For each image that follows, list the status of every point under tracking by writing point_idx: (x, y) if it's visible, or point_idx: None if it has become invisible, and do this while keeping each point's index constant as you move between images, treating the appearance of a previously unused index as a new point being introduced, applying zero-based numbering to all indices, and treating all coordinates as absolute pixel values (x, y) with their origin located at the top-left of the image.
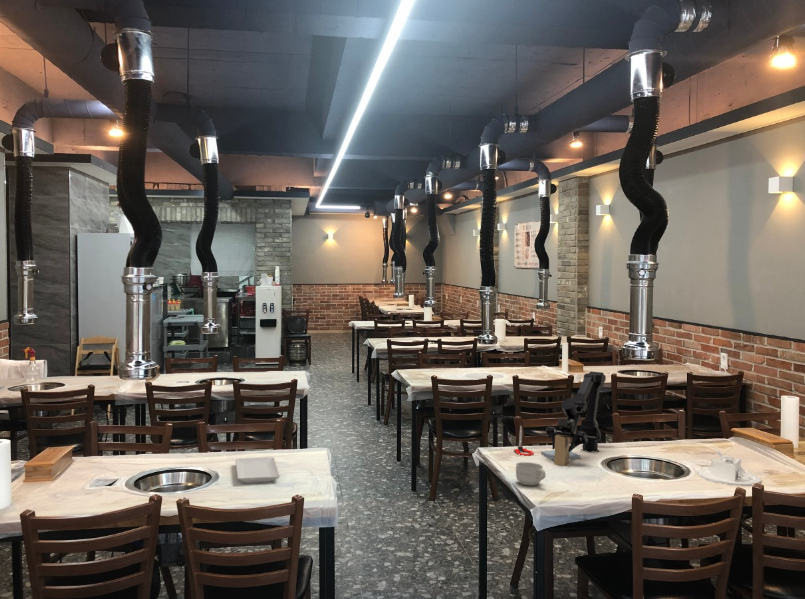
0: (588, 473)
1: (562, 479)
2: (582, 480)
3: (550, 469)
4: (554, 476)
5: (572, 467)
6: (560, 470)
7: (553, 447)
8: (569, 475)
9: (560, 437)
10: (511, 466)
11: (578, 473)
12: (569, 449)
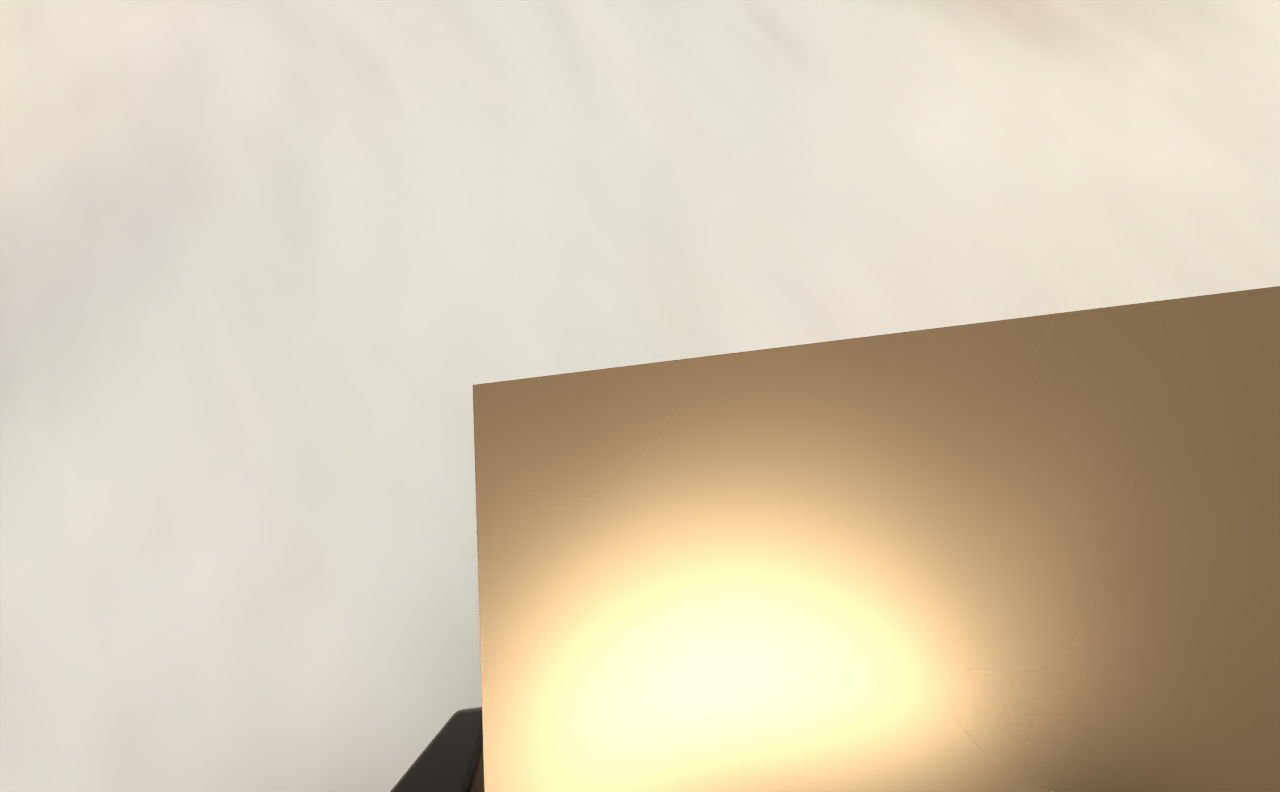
0: (15, 552)
1: (295, 23)
2: (34, 152)
3: (687, 275)
4: (441, 50)
5: (445, 721)
6: (527, 344)
7: None
8: (282, 218)
9: (963, 359)
10: (1177, 15)
11: (188, 413)
12: (439, 742)
